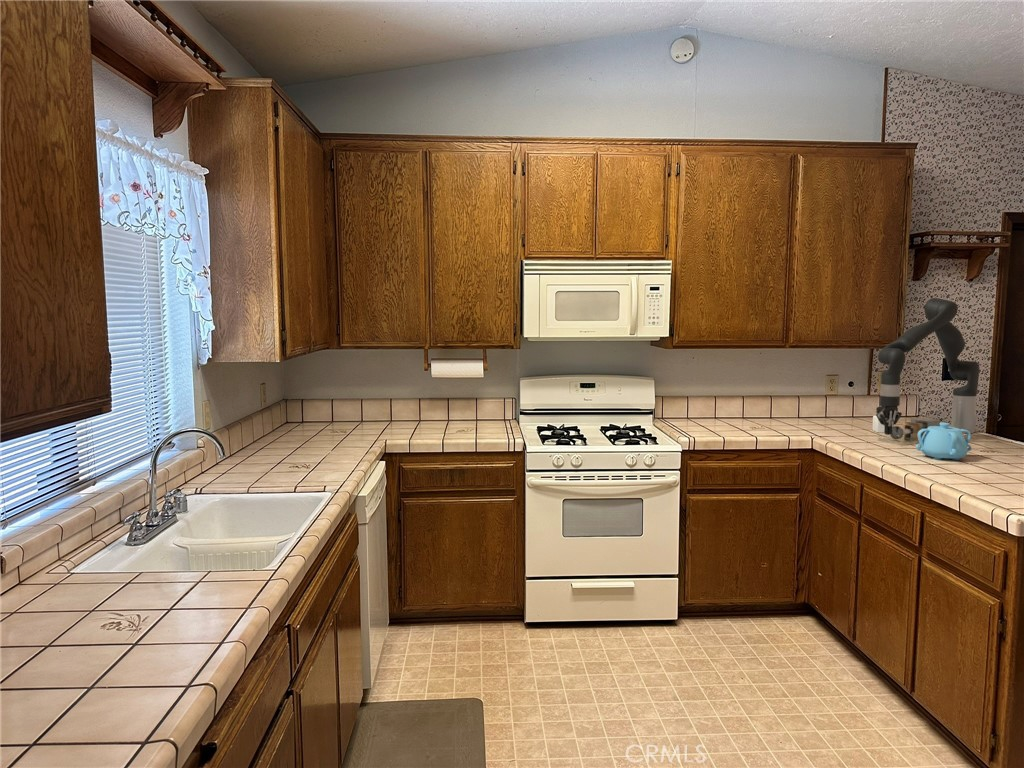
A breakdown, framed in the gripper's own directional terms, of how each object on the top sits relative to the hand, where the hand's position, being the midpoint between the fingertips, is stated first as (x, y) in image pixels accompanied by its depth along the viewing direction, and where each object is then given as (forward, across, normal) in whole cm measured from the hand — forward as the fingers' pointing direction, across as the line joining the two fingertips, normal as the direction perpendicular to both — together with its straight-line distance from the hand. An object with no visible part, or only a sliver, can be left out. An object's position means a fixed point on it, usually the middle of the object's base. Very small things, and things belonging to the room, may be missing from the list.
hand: (888, 434), depth 288 cm
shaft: (+2, +13, 0) cm, 14 cm away
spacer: (+3, +14, 0) cm, 15 cm away
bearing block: (+4, +14, 0) cm, 15 cm away
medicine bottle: (+4, +22, +21) cm, 31 cm away
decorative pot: (+4, -6, -29) cm, 30 cm away
